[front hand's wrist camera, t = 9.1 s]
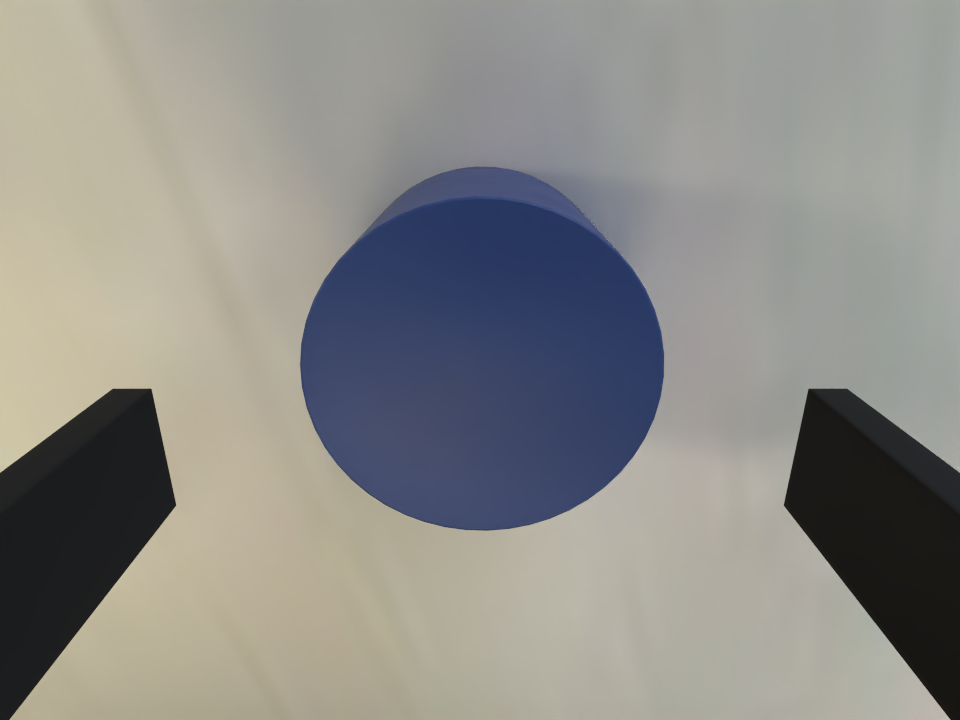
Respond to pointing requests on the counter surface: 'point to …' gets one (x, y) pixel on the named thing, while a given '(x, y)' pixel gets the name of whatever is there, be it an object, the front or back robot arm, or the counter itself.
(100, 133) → the counter surface
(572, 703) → the counter surface
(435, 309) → the canister
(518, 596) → the counter surface
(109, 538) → the front robot arm
